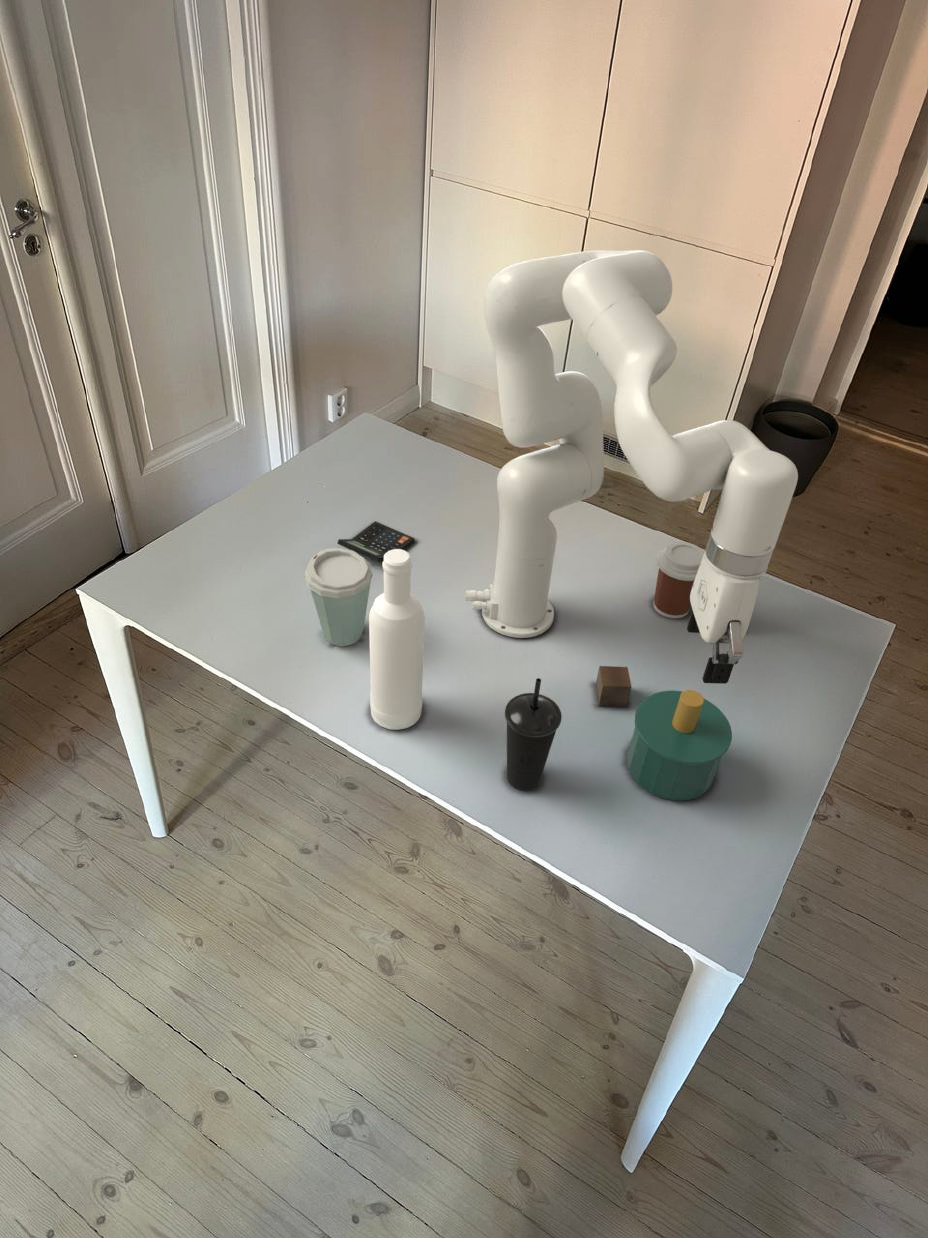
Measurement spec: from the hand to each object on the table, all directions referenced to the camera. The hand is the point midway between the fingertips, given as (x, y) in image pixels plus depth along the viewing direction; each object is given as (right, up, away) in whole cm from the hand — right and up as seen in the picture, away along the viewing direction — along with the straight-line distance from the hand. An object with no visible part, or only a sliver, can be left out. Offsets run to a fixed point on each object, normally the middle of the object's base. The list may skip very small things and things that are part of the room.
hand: (706, 655), depth 116 cm
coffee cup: (+5, +7, +42) cm, 43 cm away
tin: (-1, -17, +14) cm, 22 cm away
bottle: (-42, -10, +19) cm, 48 cm away
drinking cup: (-23, -18, +11) cm, 32 cm away
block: (-9, -8, +24) cm, 27 cm away
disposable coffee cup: (-53, +2, +32) cm, 61 cm away
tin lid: (-1, -11, +9) cm, 14 cm away
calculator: (-49, +18, +51) cm, 73 cm away
